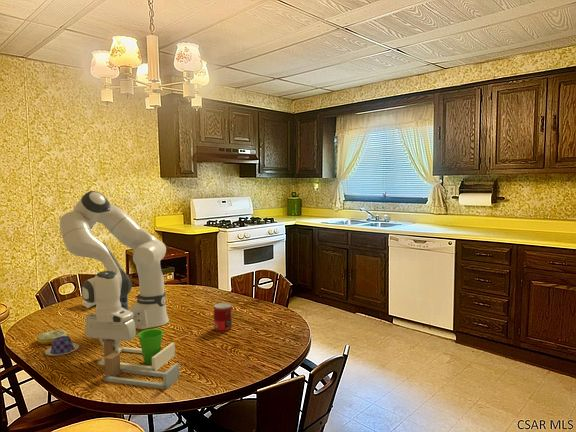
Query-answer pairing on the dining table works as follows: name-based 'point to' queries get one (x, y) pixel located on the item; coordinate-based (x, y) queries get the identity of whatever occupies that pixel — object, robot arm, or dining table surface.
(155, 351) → the cup
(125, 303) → the soda can
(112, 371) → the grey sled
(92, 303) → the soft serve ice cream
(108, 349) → the frame
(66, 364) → the dining table surface
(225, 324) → the canned food
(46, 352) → the checkered hat
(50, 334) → the decorated donut
